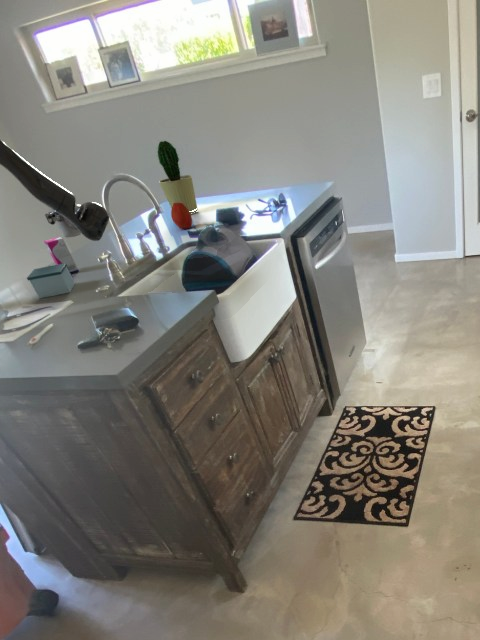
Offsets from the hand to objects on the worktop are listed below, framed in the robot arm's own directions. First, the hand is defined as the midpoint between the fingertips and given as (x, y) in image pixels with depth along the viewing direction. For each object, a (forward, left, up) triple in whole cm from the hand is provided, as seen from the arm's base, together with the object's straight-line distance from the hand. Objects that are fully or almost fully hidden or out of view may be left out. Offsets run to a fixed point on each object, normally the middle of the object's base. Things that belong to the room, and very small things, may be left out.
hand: (61, 212), depth 179 cm
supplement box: (-8, +5, -20) cm, 22 cm away
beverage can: (+1, -2, -7) cm, 8 cm away
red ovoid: (+35, +44, -20) cm, 59 cm away
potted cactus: (+35, +78, -20) cm, 87 cm away
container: (-8, -18, -19) cm, 28 cm away
